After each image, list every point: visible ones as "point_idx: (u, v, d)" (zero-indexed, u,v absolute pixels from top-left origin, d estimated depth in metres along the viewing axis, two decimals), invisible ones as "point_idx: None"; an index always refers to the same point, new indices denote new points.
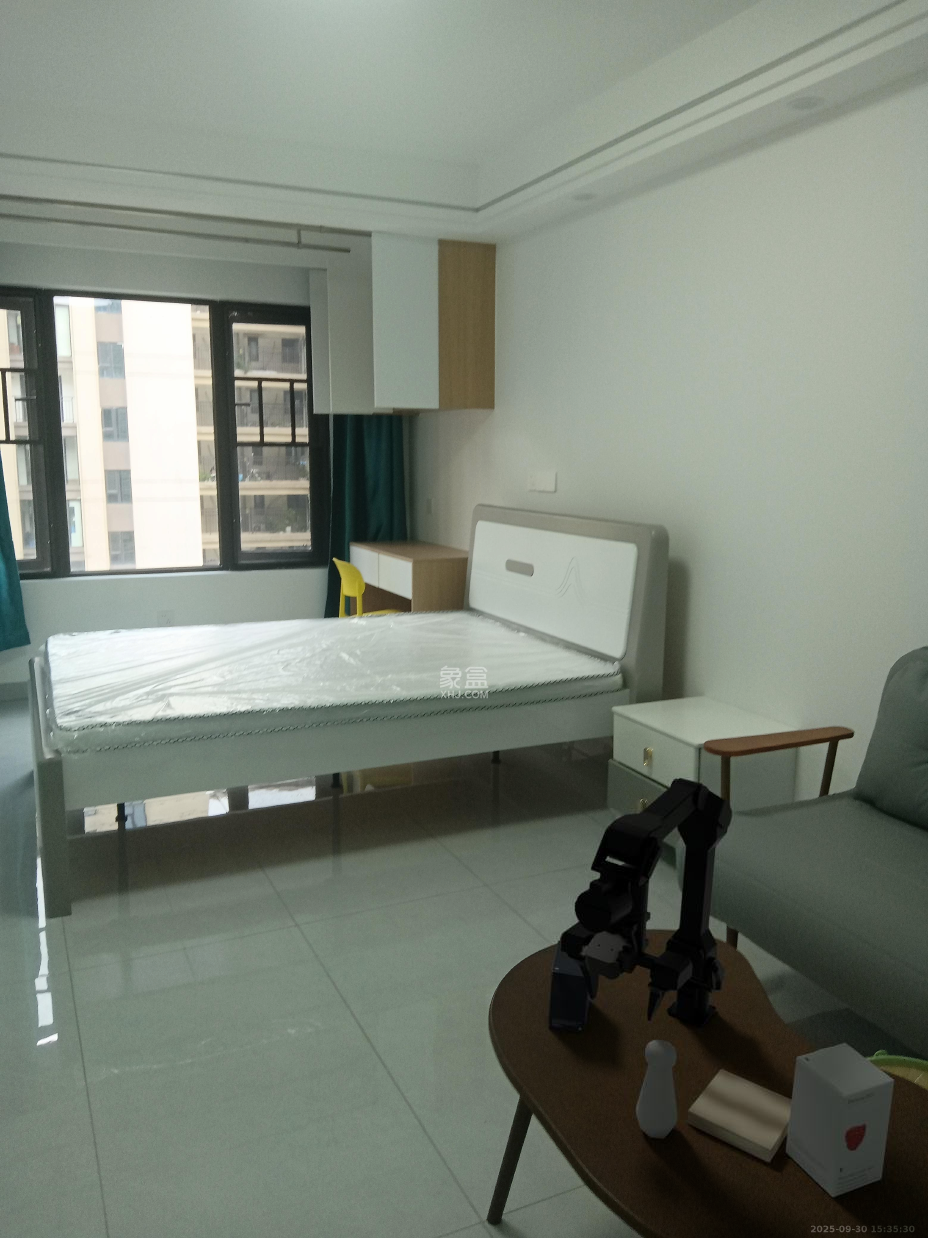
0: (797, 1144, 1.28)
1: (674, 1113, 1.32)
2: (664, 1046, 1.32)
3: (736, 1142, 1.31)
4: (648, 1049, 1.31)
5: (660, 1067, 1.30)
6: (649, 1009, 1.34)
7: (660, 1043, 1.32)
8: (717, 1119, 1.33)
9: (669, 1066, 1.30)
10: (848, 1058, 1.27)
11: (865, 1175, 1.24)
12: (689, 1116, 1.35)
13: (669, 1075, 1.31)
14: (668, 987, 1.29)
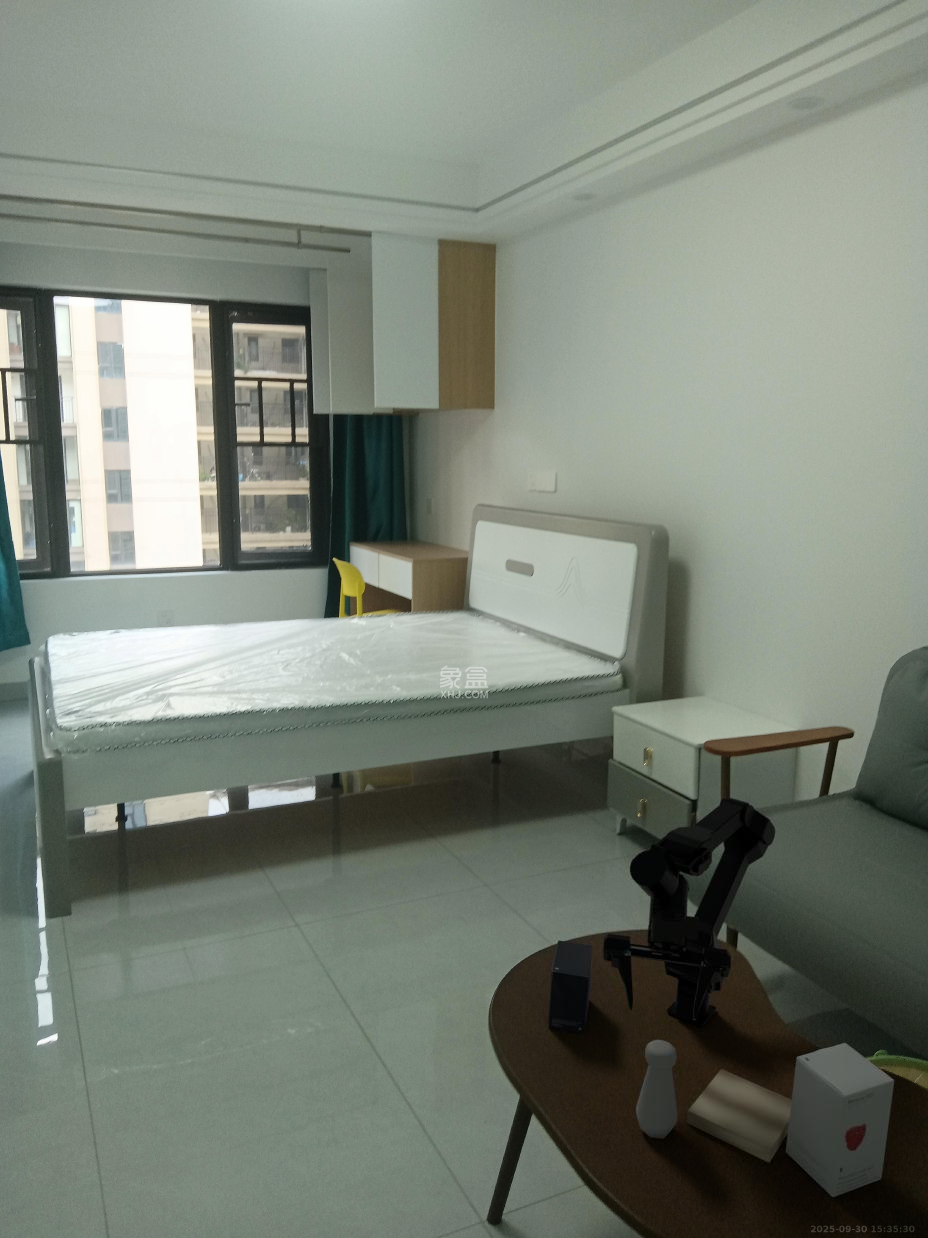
0: (797, 1144, 1.28)
1: (674, 1113, 1.32)
2: (664, 1046, 1.32)
3: (736, 1142, 1.31)
4: (648, 1049, 1.31)
5: (660, 1067, 1.30)
6: (696, 1002, 1.38)
7: (660, 1043, 1.32)
8: (717, 1119, 1.33)
9: (669, 1066, 1.30)
10: (848, 1059, 1.27)
11: (865, 1175, 1.24)
12: (689, 1116, 1.35)
13: (669, 1075, 1.31)
14: (723, 964, 1.39)
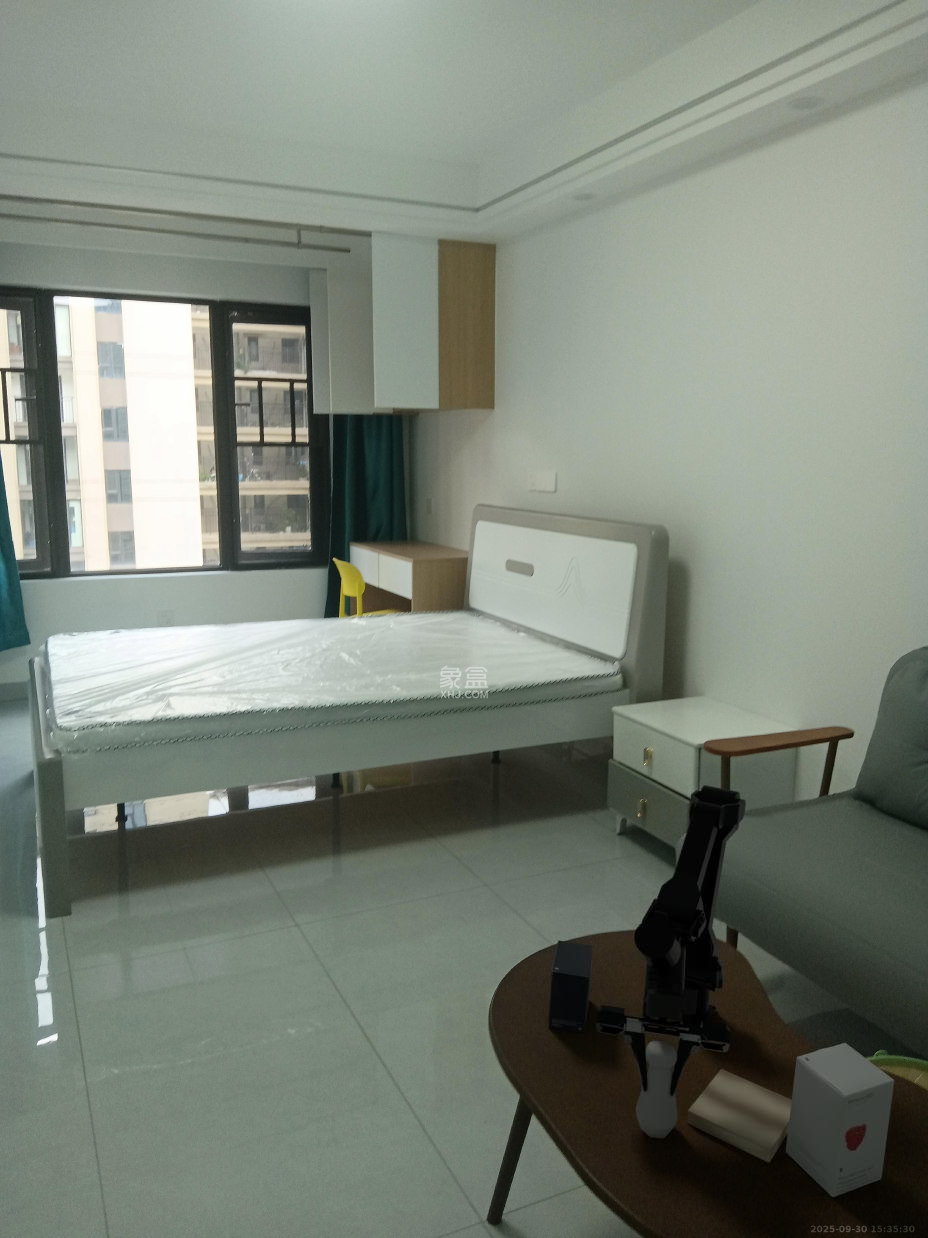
0: (797, 1144, 1.28)
1: (675, 1113, 1.32)
2: (664, 1046, 1.32)
3: (736, 1142, 1.31)
4: (649, 1049, 1.31)
5: (660, 1067, 1.30)
6: (674, 1078, 1.31)
7: (660, 1043, 1.32)
8: (717, 1119, 1.33)
9: (669, 1066, 1.30)
10: (848, 1058, 1.27)
11: (865, 1175, 1.24)
12: (689, 1116, 1.35)
13: (669, 1075, 1.31)
14: (722, 1040, 1.31)
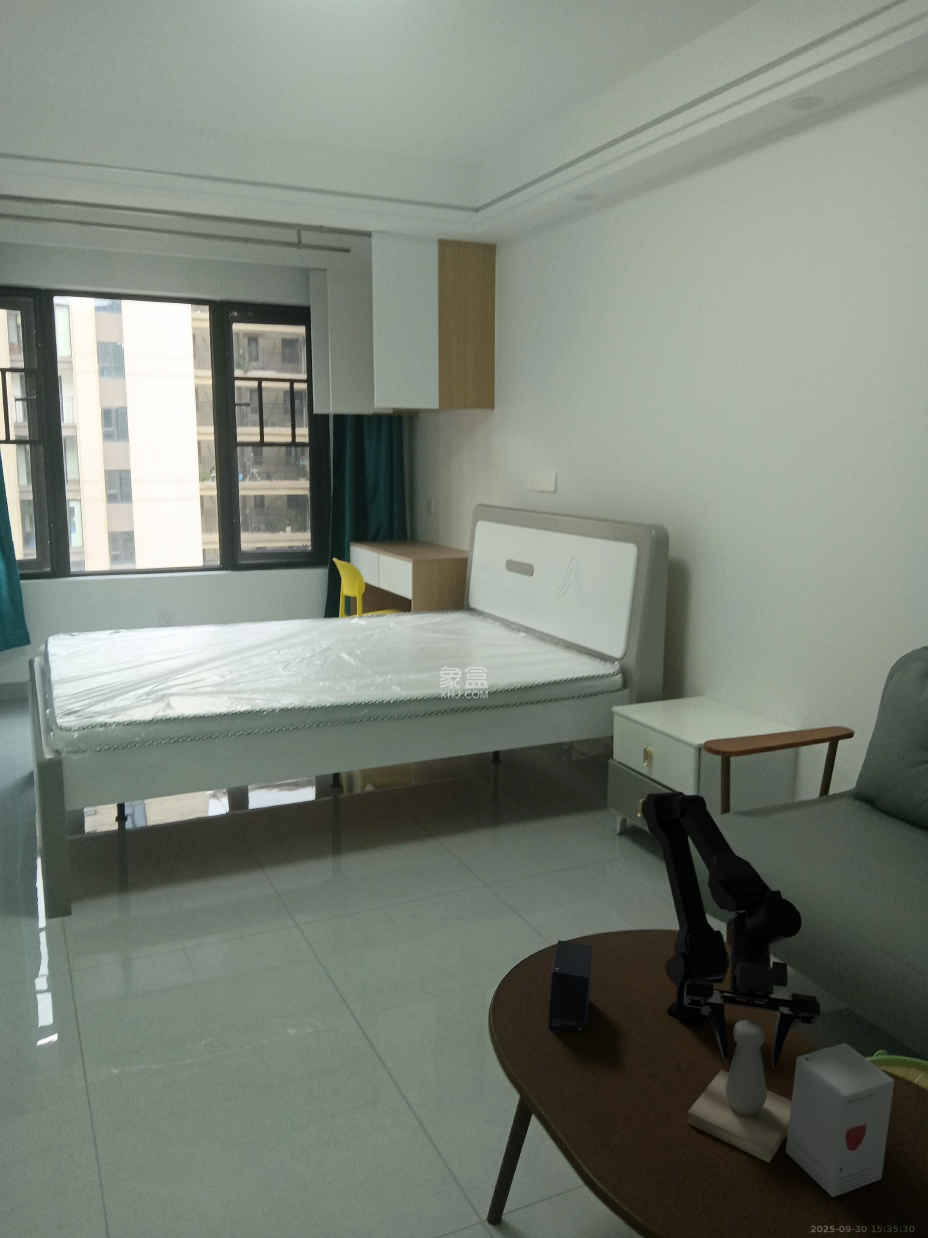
0: (797, 1144, 1.28)
1: (764, 1091, 1.34)
2: (752, 1026, 1.34)
3: (736, 1143, 1.31)
4: (736, 1029, 1.34)
5: (749, 1046, 1.32)
6: (776, 1051, 1.33)
7: (748, 1023, 1.34)
8: (716, 1120, 1.33)
9: (758, 1045, 1.32)
10: (848, 1059, 1.27)
11: (865, 1175, 1.24)
12: (689, 1117, 1.35)
13: (758, 1054, 1.33)
14: (813, 1012, 1.33)
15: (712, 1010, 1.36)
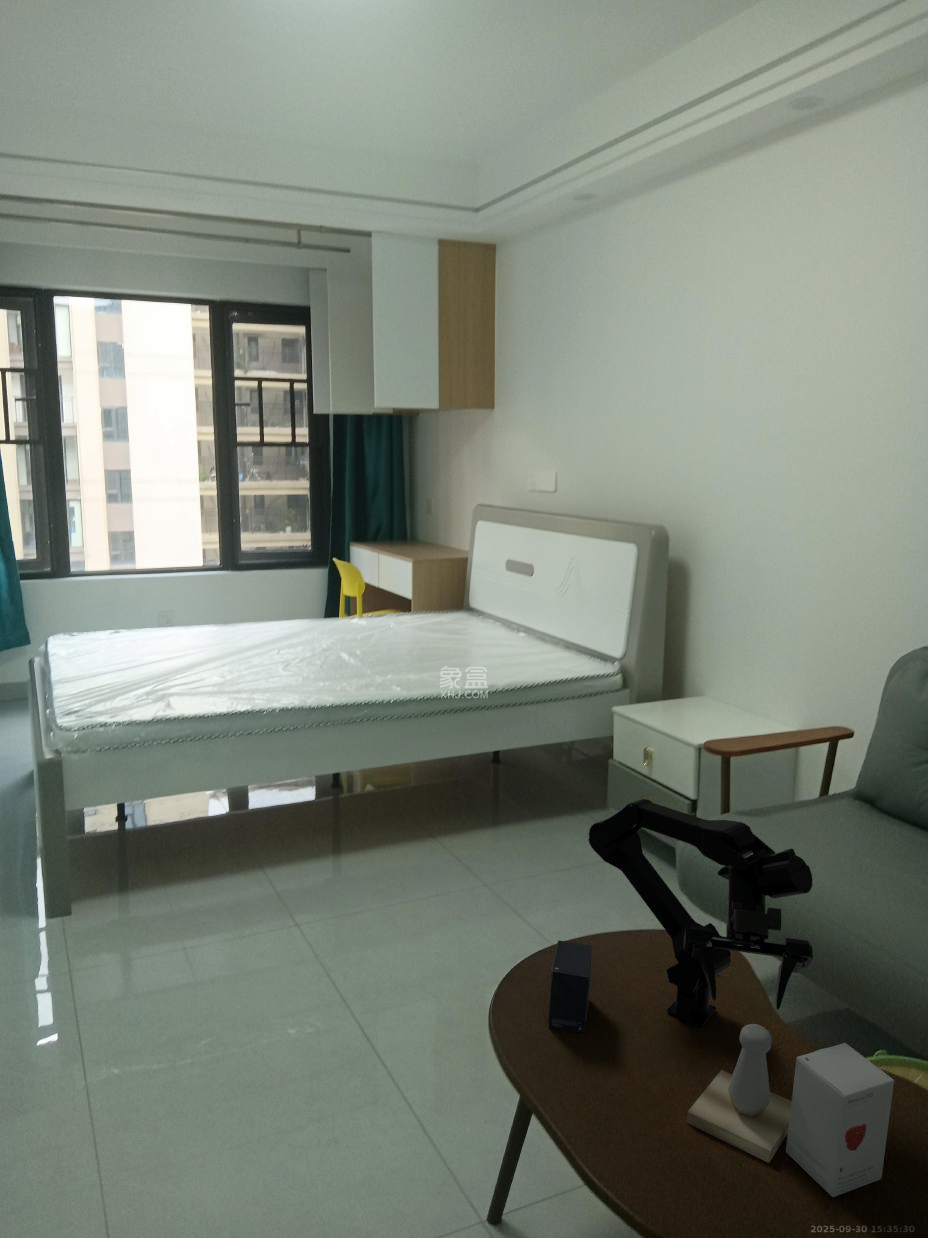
0: (797, 1144, 1.28)
1: (765, 1097, 1.33)
2: (759, 1032, 1.32)
3: (736, 1143, 1.31)
4: (742, 1031, 1.33)
5: (751, 1051, 1.31)
6: (779, 992, 1.41)
7: (756, 1028, 1.33)
8: (716, 1120, 1.33)
9: (760, 1052, 1.31)
10: (848, 1059, 1.27)
11: (865, 1175, 1.24)
12: (689, 1117, 1.35)
13: (762, 1060, 1.32)
14: (805, 954, 1.41)
15: (702, 953, 1.44)
